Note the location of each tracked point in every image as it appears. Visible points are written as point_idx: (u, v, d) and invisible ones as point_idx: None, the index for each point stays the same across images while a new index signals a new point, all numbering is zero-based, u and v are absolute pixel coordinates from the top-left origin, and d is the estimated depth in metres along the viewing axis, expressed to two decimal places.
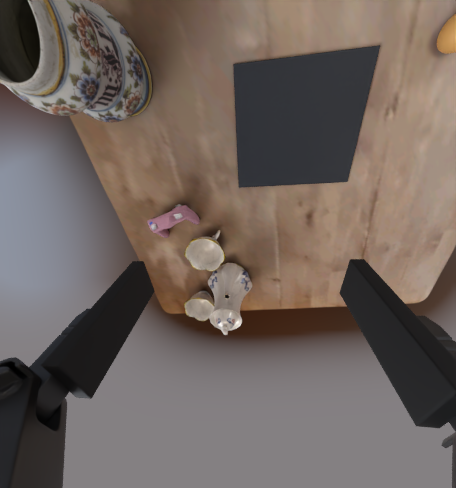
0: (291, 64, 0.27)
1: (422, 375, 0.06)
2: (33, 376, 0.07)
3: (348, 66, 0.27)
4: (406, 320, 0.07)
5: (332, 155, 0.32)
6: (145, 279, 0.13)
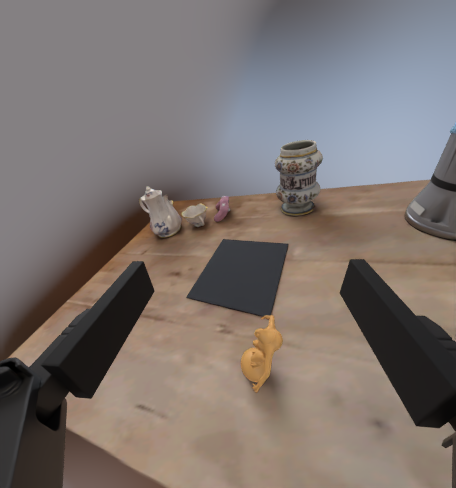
0: (277, 268, 0.40)
1: (422, 375, 0.06)
2: (33, 376, 0.07)
3: (264, 297, 0.35)
4: (406, 320, 0.07)
5: (212, 287, 0.40)
6: (145, 279, 0.13)
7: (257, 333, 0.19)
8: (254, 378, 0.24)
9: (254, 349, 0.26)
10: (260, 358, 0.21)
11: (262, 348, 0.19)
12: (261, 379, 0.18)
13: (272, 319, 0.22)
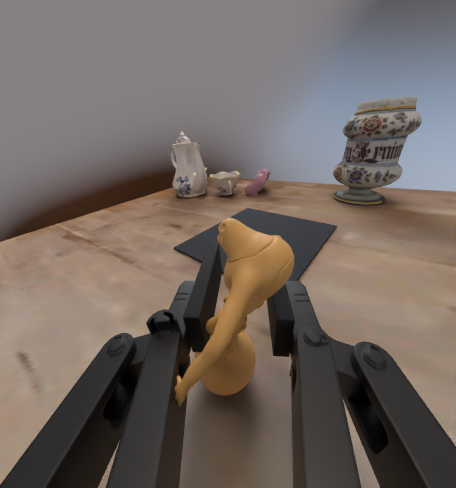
0: (313, 246, 0.26)
1: (273, 316, 0.09)
2: (180, 332, 0.08)
3: None
4: None
5: None
6: (219, 259, 0.14)
7: (222, 227, 0.07)
8: (211, 382, 0.11)
9: None
10: None
11: (228, 275, 0.06)
12: (196, 361, 0.05)
13: (277, 236, 0.09)
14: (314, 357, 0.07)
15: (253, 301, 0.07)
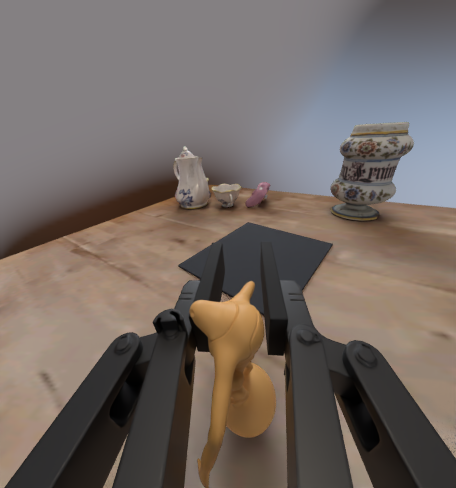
0: (310, 266, 0.28)
1: (267, 316, 0.09)
2: (186, 332, 0.08)
3: None
4: (270, 280, 0.10)
5: None
6: (223, 259, 0.14)
7: (192, 312, 0.07)
8: (240, 430, 0.11)
9: None
10: None
11: (211, 353, 0.07)
12: (205, 450, 0.06)
13: (247, 286, 0.09)
14: (307, 356, 0.07)
15: (242, 362, 0.08)
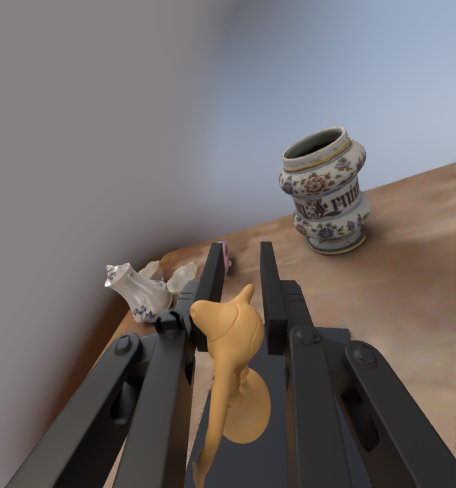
0: None
1: (267, 316, 0.09)
2: (186, 331, 0.08)
3: None
4: (270, 280, 0.10)
5: (221, 476, 0.19)
6: (223, 259, 0.14)
7: (193, 312, 0.07)
8: (234, 435, 0.11)
9: None
10: None
11: (210, 354, 0.07)
12: (202, 452, 0.06)
13: (247, 288, 0.10)
14: (307, 356, 0.07)
15: (241, 364, 0.08)
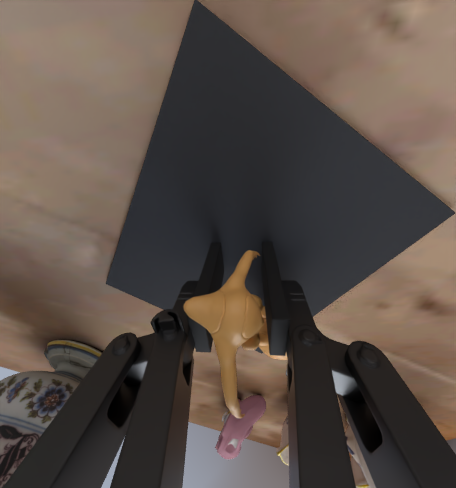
0: (139, 218, 0.14)
1: (269, 316, 0.09)
2: (184, 332, 0.08)
3: (196, 113, 0.10)
4: (272, 281, 0.10)
5: (353, 219, 0.12)
6: (221, 259, 0.14)
7: None
8: (275, 357, 0.13)
9: None
10: None
11: None
12: None
13: (242, 261, 0.09)
14: (309, 356, 0.07)
15: None
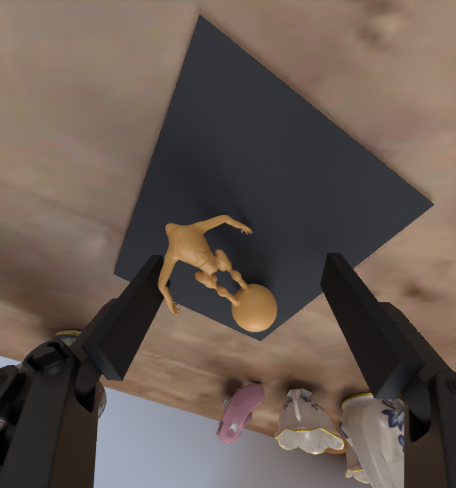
0: (146, 211, 0.15)
1: (378, 352, 0.07)
2: (74, 358, 0.07)
3: (199, 114, 0.11)
4: (368, 305, 0.08)
5: (342, 210, 0.13)
6: None
7: None
8: (236, 320, 0.16)
9: (250, 284, 0.16)
10: None
11: None
12: None
13: None
14: None
15: (193, 264, 0.12)
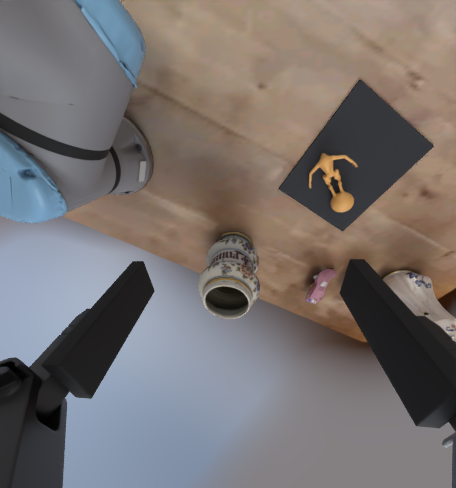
0: (311, 152, 0.35)
1: (422, 375, 0.06)
2: (33, 376, 0.07)
3: (349, 111, 0.31)
4: (406, 320, 0.07)
5: (397, 150, 0.33)
6: (145, 279, 0.13)
7: (321, 155, 0.35)
8: (330, 203, 0.38)
9: (346, 192, 0.36)
10: None
11: None
12: None
13: (340, 155, 0.32)
14: None
15: (324, 170, 0.34)
